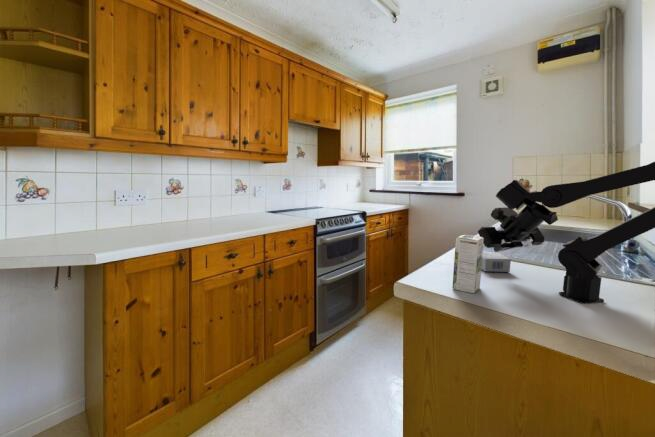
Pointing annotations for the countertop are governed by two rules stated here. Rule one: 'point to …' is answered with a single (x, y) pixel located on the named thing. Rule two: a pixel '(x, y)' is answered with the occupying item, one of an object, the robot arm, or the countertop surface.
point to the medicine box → (495, 262)
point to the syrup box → (467, 263)
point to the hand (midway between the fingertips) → (495, 250)
